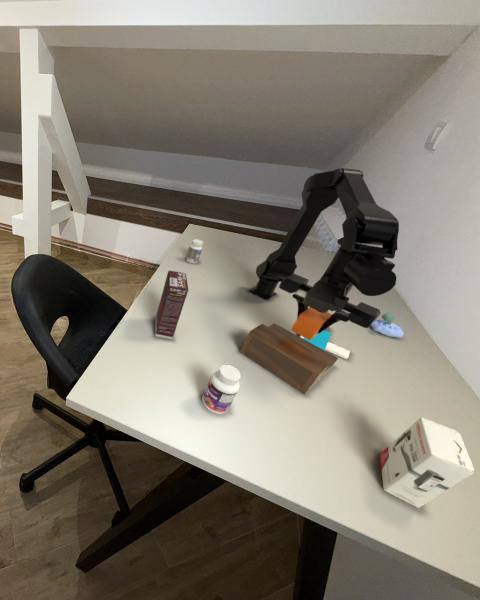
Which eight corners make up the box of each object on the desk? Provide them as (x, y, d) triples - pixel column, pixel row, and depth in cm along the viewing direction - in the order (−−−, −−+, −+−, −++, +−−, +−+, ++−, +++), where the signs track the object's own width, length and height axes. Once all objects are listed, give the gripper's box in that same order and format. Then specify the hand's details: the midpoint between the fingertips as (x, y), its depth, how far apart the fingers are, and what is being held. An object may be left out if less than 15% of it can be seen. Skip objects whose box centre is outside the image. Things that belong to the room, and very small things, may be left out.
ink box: (377, 452, 59) (420, 414, 52) (410, 467, 57) (459, 430, 50) (382, 491, 53) (431, 453, 46) (419, 510, 51) (476, 473, 44)
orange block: (302, 320, 80) (312, 305, 77) (321, 330, 77) (332, 314, 74) (290, 330, 76) (300, 313, 73) (310, 340, 73) (320, 324, 71)
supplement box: (173, 340, 82) (189, 289, 73) (154, 336, 83) (168, 286, 74) (172, 320, 89) (186, 272, 80) (155, 317, 90) (167, 269, 81)
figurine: (372, 333, 91) (387, 315, 87) (364, 320, 96) (377, 303, 93) (405, 341, 89) (421, 323, 85) (395, 328, 94) (410, 310, 90)
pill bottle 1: (196, 264, 120) (202, 244, 116) (184, 261, 122) (190, 241, 117) (199, 260, 124) (205, 241, 119) (187, 257, 126) (193, 237, 121)
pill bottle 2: (197, 393, 68) (211, 361, 62) (220, 393, 68) (236, 361, 63) (207, 415, 63) (223, 382, 58) (232, 414, 64) (250, 382, 58)
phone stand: (341, 376, 75) (345, 371, 74) (288, 350, 82) (291, 346, 81) (352, 339, 88) (356, 335, 87) (306, 320, 94) (308, 315, 93)
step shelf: (269, 331, 88) (280, 311, 84) (332, 366, 78) (347, 345, 74) (239, 351, 80) (249, 331, 76) (304, 394, 70) (320, 373, 66)
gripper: (282, 262, 69) (255, 317, 78) (384, 303, 57) (338, 363, 66) (304, 251, 75) (276, 304, 84) (400, 287, 63) (356, 344, 72)
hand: (308, 327), depth 76 cm, fingers closed on orange block, 4 cm apart
